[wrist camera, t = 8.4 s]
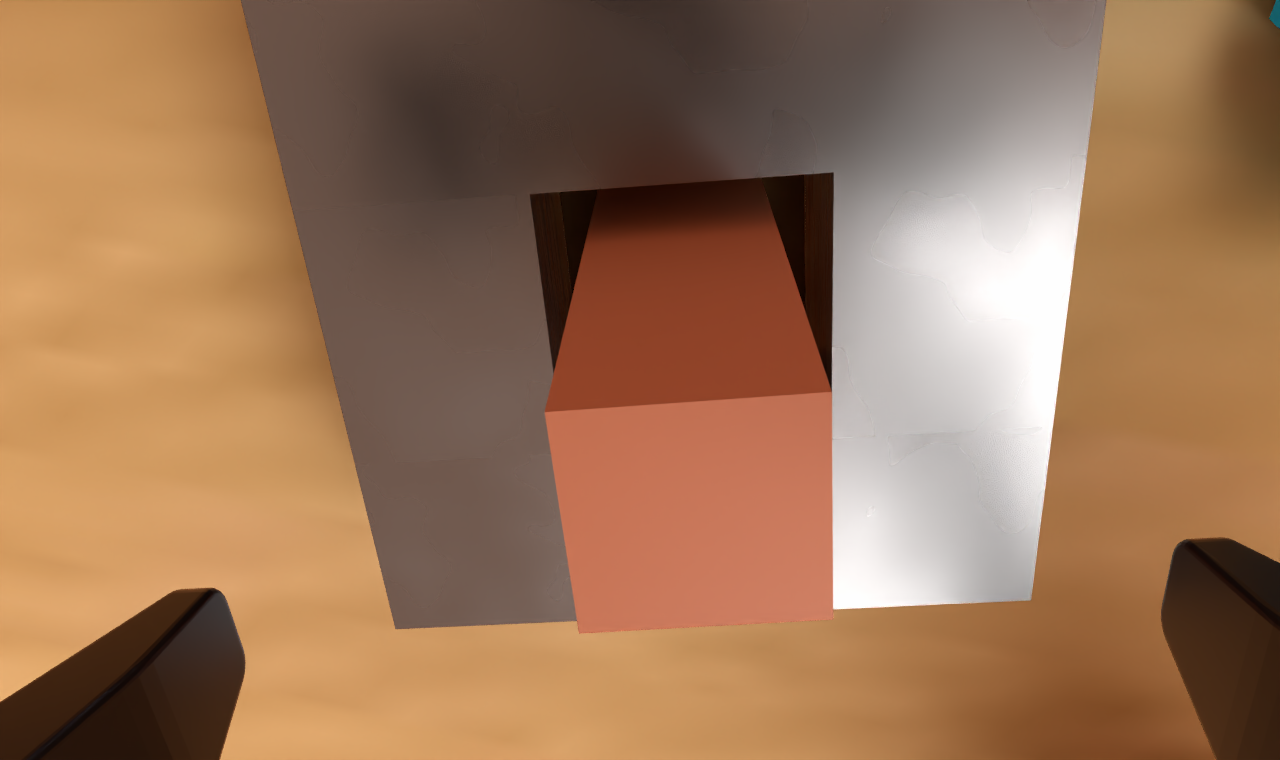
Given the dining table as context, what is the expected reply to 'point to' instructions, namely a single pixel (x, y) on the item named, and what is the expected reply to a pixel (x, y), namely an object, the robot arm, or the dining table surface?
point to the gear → (1276, 14)
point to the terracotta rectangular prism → (691, 418)
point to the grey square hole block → (670, 154)
